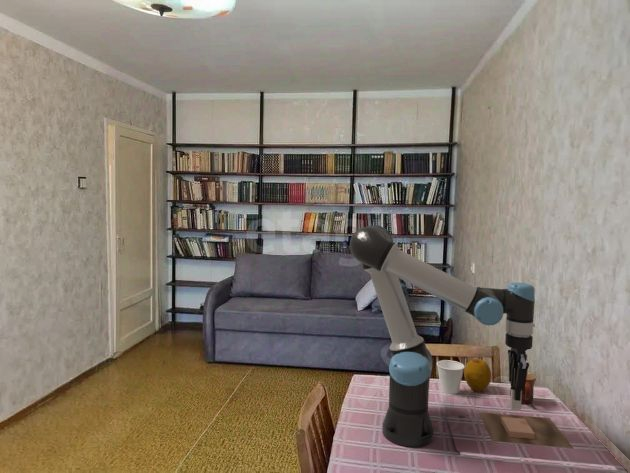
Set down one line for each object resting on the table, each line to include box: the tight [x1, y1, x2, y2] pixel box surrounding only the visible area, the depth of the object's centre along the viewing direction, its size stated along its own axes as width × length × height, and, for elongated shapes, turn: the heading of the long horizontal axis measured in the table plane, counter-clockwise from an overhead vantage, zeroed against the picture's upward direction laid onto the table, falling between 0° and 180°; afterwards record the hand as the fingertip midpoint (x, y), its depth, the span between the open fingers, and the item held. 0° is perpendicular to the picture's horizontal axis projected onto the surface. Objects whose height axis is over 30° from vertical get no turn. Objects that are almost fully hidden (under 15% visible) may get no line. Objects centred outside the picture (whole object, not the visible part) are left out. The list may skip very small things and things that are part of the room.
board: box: [478, 411, 574, 449], centre depth 134 cm, size 22×18×1 cm
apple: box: [463, 358, 492, 392], centre depth 166 cm, size 10×10×12 cm
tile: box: [501, 417, 535, 439], centre depth 133 cm, size 7×2×9 cm
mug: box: [509, 371, 538, 405], centre depth 153 cm, size 12×9×10 cm
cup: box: [436, 359, 466, 395], centre depth 161 cm, size 10×10×11 cm
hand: (515, 408), depth 135 cm, fingers closed
